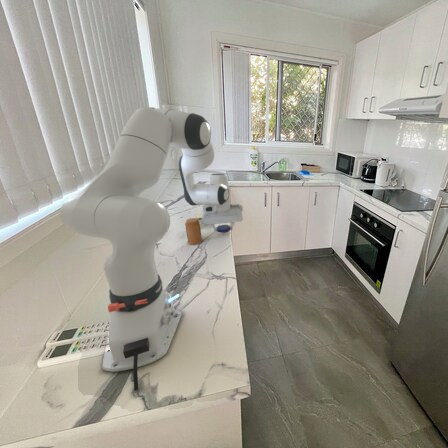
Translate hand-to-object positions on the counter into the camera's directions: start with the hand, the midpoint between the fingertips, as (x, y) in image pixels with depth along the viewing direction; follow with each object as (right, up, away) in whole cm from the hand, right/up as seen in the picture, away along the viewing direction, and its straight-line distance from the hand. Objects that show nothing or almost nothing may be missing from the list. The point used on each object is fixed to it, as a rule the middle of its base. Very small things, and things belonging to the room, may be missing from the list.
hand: (223, 230), depth 128 cm
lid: (0, +1, 0) cm, 1 cm away
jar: (-12, -5, -8) cm, 15 cm away
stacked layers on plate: (-16, +3, +11) cm, 20 cm away
